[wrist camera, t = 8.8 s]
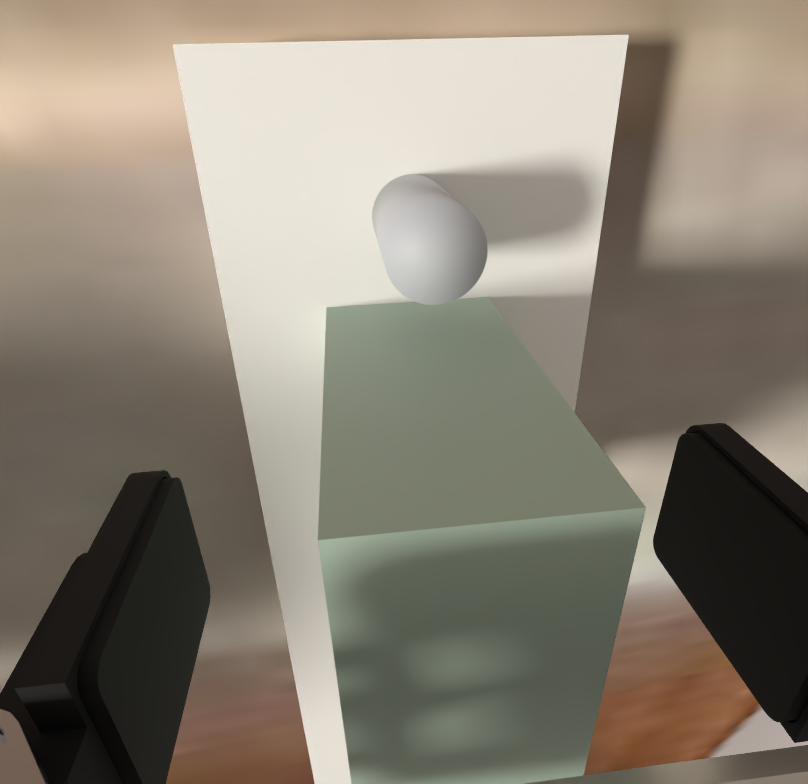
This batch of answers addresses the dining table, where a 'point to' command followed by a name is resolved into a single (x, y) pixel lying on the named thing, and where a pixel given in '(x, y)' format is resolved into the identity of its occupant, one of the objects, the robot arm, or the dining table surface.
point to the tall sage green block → (464, 550)
